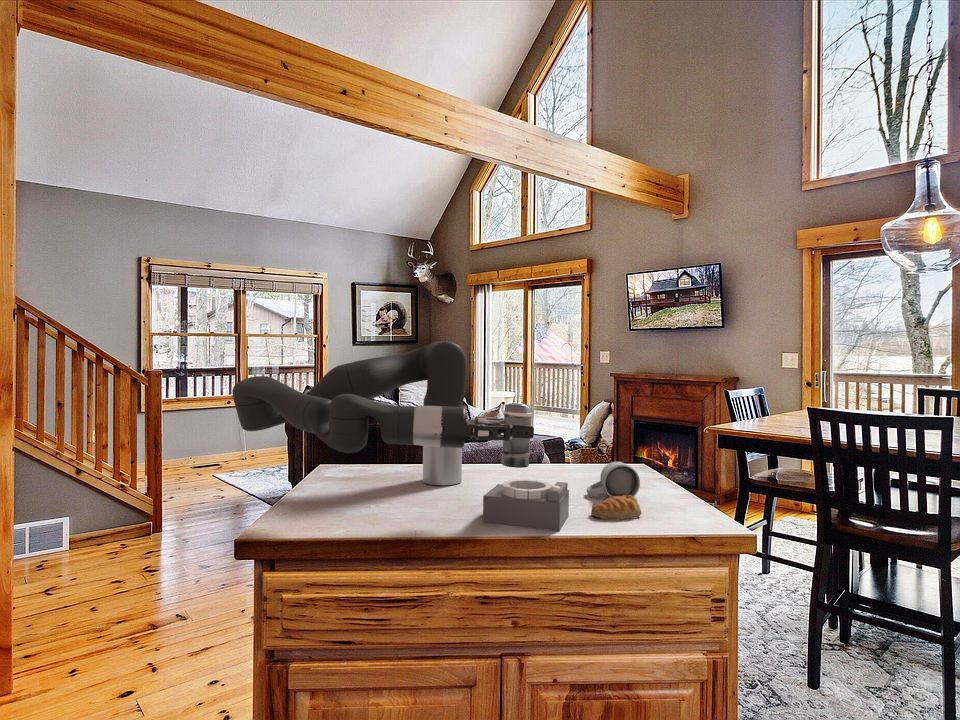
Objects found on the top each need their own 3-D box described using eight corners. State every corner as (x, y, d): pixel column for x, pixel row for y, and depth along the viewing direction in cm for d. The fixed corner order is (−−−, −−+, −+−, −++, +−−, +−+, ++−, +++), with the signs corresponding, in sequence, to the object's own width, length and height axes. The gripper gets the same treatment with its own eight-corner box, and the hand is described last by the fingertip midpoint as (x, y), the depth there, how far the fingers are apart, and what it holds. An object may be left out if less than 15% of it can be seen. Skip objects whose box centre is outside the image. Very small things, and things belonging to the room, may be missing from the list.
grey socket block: (497, 509, 118) (498, 472, 118) (568, 516, 114) (569, 477, 114) (482, 523, 109) (483, 483, 109) (559, 531, 105) (560, 489, 105)
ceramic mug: (631, 492, 134) (631, 458, 134) (640, 501, 126) (640, 465, 126) (584, 492, 134) (584, 458, 134) (589, 501, 126) (589, 465, 126)
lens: (504, 460, 114) (508, 402, 114) (531, 464, 113) (535, 404, 112) (497, 465, 109) (501, 404, 109) (525, 469, 108) (529, 406, 107)
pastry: (604, 524, 110) (604, 503, 110) (583, 515, 116) (583, 495, 116) (644, 518, 114) (644, 498, 114) (621, 509, 120) (621, 490, 120)
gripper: (439, 440, 117) (525, 443, 118) (437, 453, 103) (536, 457, 104) (440, 402, 117) (527, 405, 118) (439, 410, 103) (538, 414, 104)
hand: (530, 429), depth 111 cm, fingers closed on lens, 5 cm apart
